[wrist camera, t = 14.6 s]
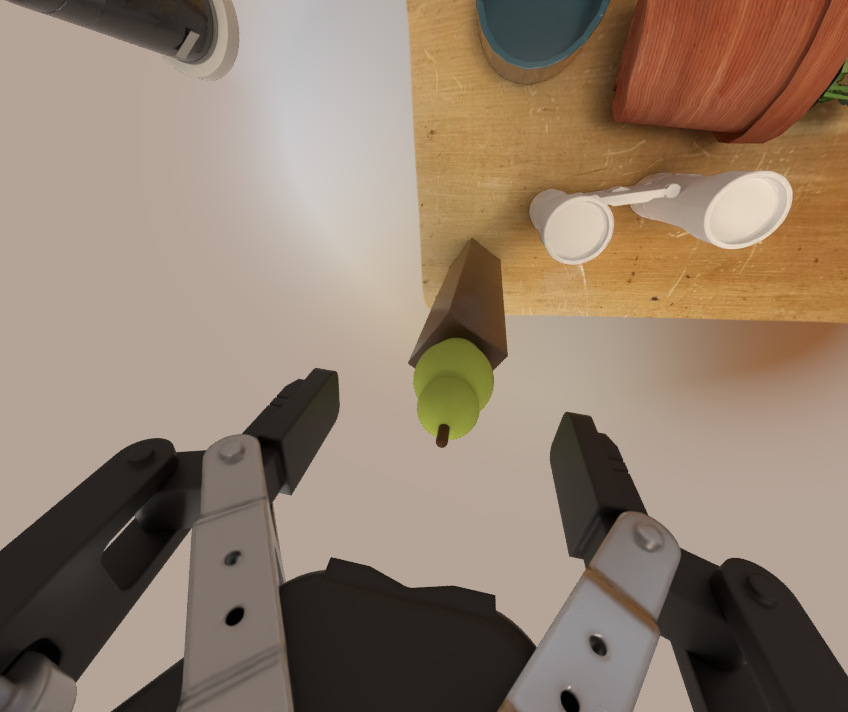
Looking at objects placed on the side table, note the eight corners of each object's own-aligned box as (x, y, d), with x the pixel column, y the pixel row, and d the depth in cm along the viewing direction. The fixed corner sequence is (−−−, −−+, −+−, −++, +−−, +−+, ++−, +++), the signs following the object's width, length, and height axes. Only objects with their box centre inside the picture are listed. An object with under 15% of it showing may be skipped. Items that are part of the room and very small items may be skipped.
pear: (408, 363, 25) (372, 446, 18) (449, 312, 23) (428, 384, 15) (463, 401, 26) (451, 496, 18) (509, 356, 23) (517, 444, 16)
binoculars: (680, 165, 39) (805, 164, 23) (671, 216, 41) (778, 245, 26) (525, 189, 43) (544, 201, 27) (525, 233, 45) (543, 268, 30)
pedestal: (449, 267, 49) (407, 363, 25) (471, 237, 47) (448, 312, 23) (477, 288, 50) (462, 401, 26) (500, 260, 47) (508, 356, 23)
